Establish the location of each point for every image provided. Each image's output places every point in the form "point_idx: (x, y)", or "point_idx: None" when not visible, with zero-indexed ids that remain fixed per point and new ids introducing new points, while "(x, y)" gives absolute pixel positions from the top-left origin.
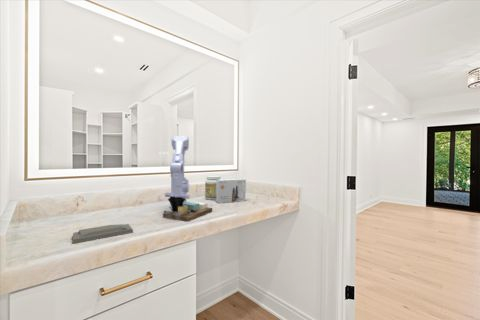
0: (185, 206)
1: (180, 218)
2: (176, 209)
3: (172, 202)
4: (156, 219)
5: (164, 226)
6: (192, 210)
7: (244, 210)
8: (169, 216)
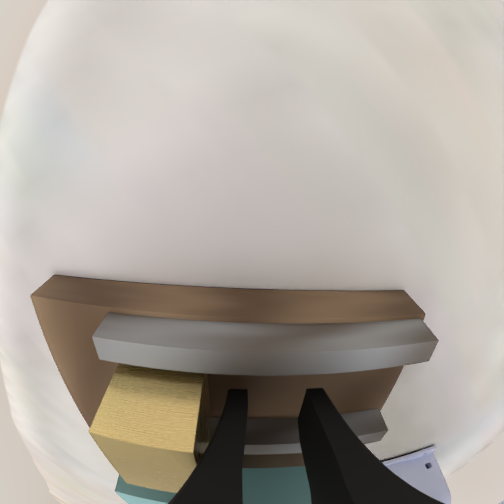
0: (111, 460)
1: (137, 294)
2: (299, 433)
3: (349, 501)
4: (434, 208)
5: (155, 16)
6: None
7: (59, 474)
8: (324, 304)
